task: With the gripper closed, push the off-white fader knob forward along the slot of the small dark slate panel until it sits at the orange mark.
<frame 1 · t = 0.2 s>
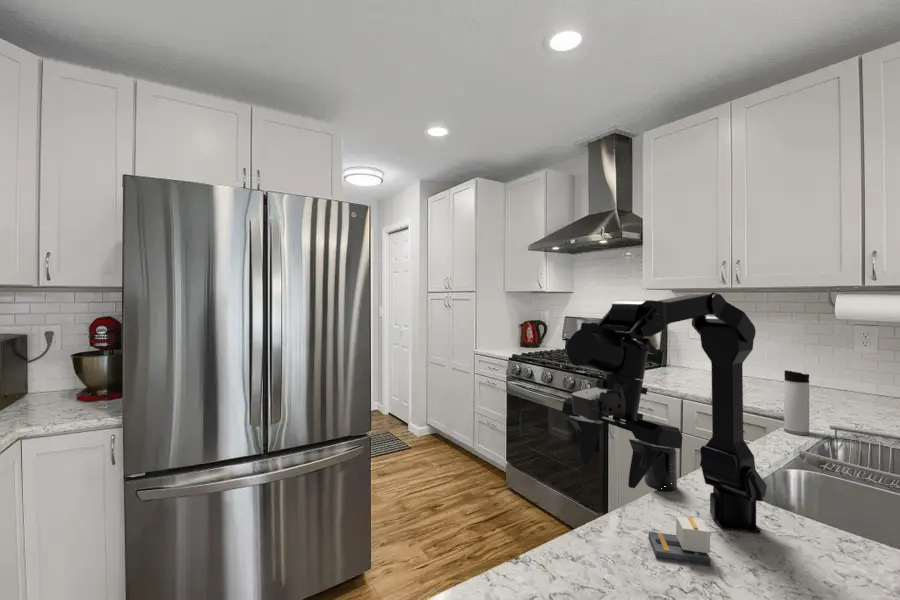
hand: (606, 475, 65), 15 cm above the worktop, tool pointing down, fingers open, 9 cm apart
travel mug: (795, 433, 135), on the worktop
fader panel: (677, 551, 71), on the worktop
fader: (692, 533, 70), point 3 cm above the worktop, slide at 0.0 cm
supplement bottle: (660, 486, 96), on the worktop
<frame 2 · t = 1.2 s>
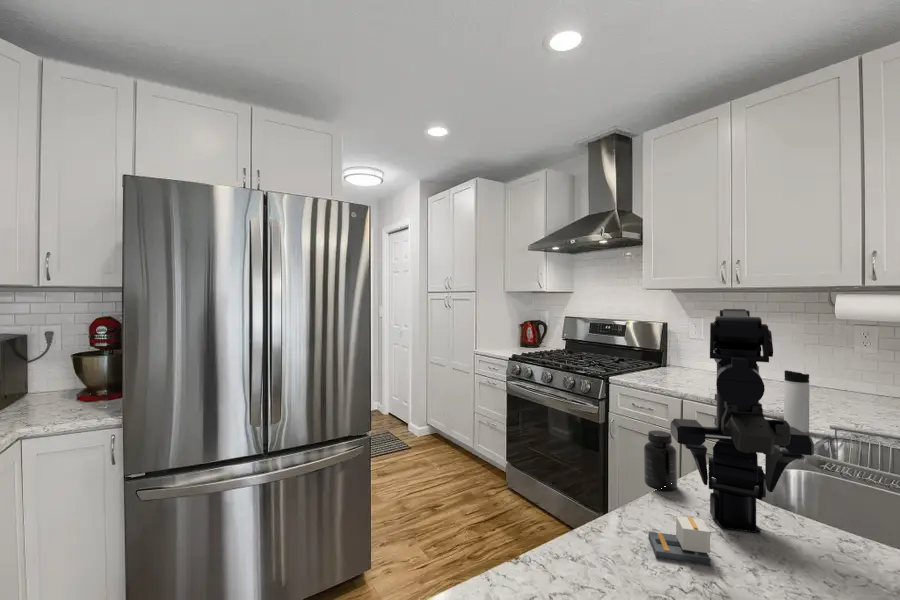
hand: (736, 487, 69), 12 cm above the worktop, tool pointing down, fingers open, 9 cm apart
nothing on the worktop moved.
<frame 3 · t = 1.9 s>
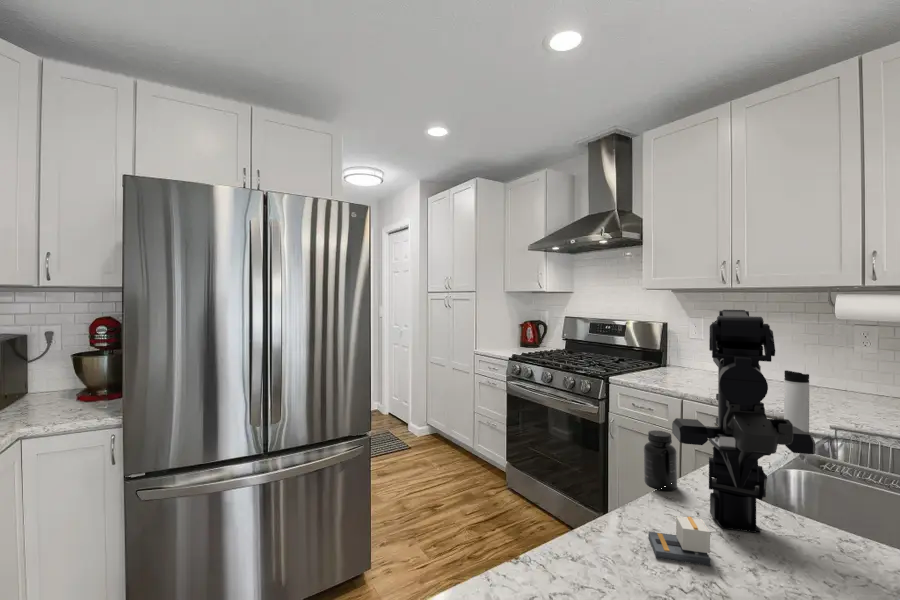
hand: (738, 487, 69), 12 cm above the worktop, tool pointing down, fingers closed
nothing on the worktop moved.
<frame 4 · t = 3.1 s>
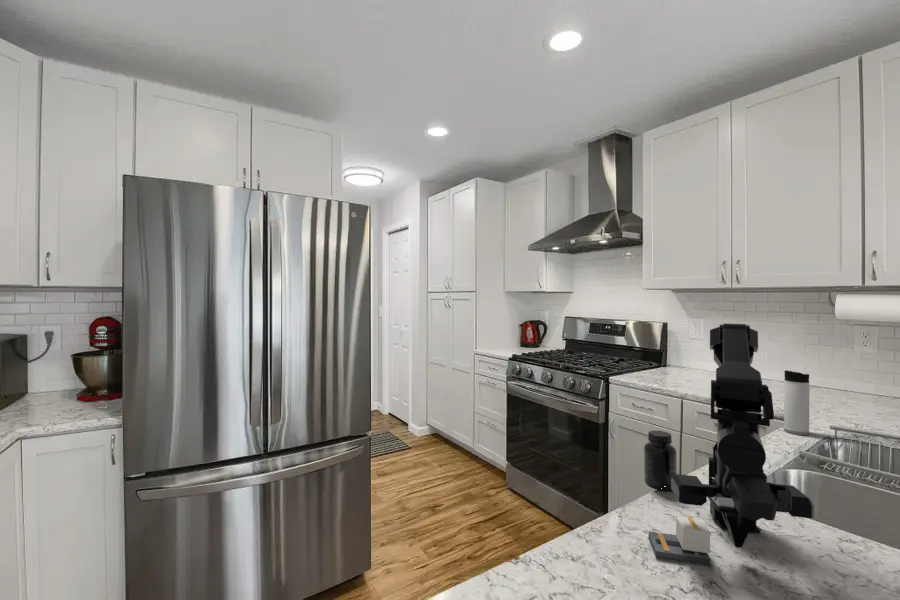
hand: (737, 546, 69), 2 cm above the worktop, tool pointing down, fingers closed
nothing on the worktop moved.
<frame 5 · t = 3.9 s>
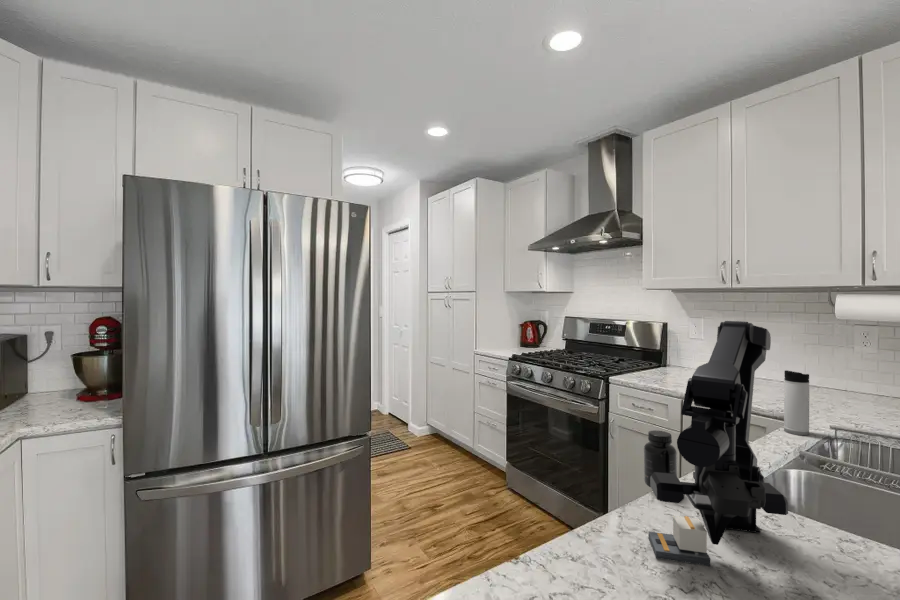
hand: (714, 543, 70), 2 cm above the worktop, tool pointing down, fingers closed
fader: (689, 532, 71), point 3 cm above the worktop, slide at 0.5 cm, touching gripper
everything else where it was.
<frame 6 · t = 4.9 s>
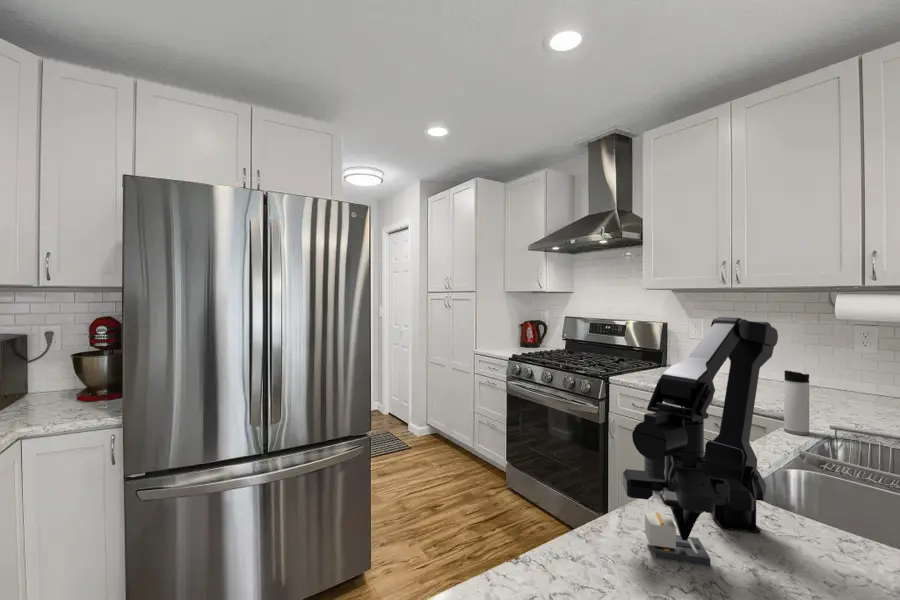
hand: (683, 539, 71), 2 cm above the worktop, tool pointing down, fingers closed
fader: (659, 529, 72), point 3 cm above the worktop, slide at 5.0 cm, touching gripper
everything else where it was.
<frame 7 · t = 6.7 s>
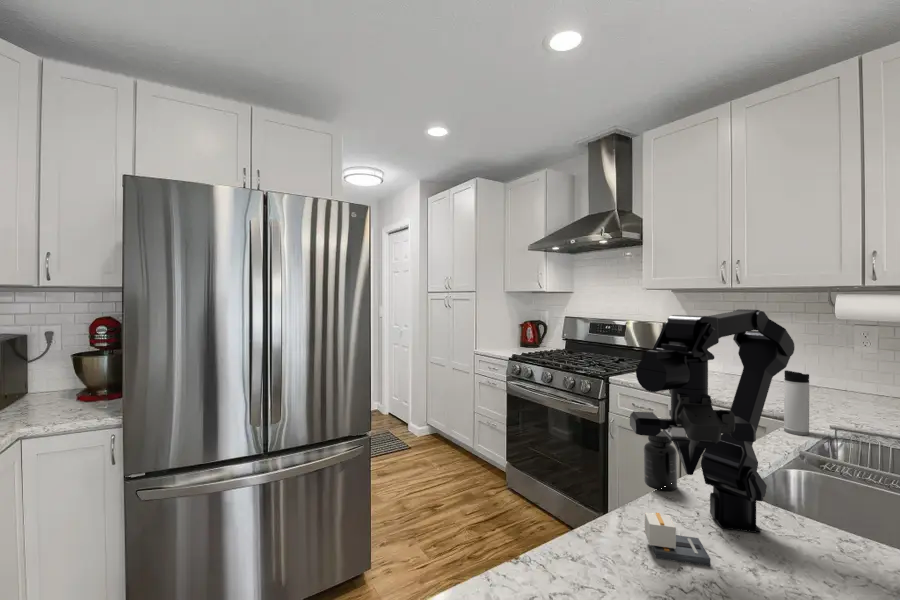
hand: (689, 474, 74), 12 cm above the worktop, tool pointing down, fingers closed
fader: (659, 529, 72), point 3 cm above the worktop, slide at 5.0 cm
everything else where it was.
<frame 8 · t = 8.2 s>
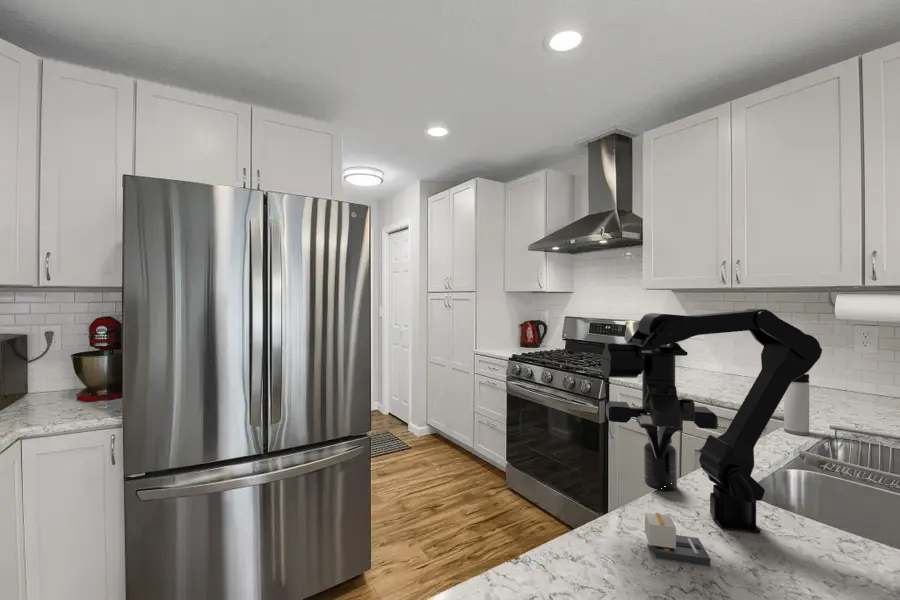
hand: (658, 458, 81), 12 cm above the worktop, tool pointing down, fingers closed
nothing on the worktop moved.
at the end: fader slide at 5.0 cm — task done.
